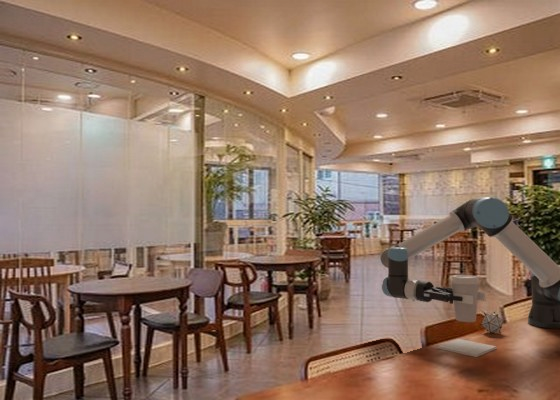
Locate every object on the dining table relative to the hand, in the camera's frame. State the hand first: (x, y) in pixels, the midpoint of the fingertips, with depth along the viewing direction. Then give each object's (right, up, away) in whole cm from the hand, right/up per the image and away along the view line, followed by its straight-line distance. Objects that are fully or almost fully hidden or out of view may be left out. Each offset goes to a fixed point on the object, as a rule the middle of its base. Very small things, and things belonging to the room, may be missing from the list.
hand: (478, 298), depth 164 cm
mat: (-3, -18, +3) cm, 18 cm away
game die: (+15, -18, +24) cm, 34 cm away
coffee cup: (-3, -8, +3) cm, 9 cm away
